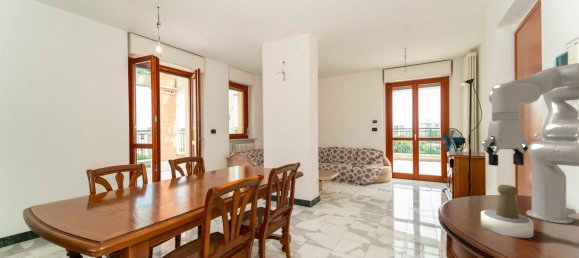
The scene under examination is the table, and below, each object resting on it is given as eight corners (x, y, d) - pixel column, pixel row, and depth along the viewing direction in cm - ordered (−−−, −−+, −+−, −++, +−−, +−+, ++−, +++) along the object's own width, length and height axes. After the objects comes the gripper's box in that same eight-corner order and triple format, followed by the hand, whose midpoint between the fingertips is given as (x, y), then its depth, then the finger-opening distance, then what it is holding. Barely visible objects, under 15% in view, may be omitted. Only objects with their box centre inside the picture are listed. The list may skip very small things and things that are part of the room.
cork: (511, 213, 88) (511, 183, 88) (523, 219, 82) (523, 187, 82) (492, 212, 89) (492, 183, 89) (502, 218, 83) (502, 186, 83)
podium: (505, 221, 93) (504, 208, 93) (545, 237, 79) (545, 222, 79) (471, 222, 92) (471, 209, 92) (506, 238, 78) (506, 224, 78)
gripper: (517, 118, 90) (517, 163, 90) (474, 118, 89) (474, 163, 89) (539, 117, 83) (539, 166, 83) (492, 117, 81) (493, 167, 81)
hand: (505, 165), depth 86 cm, fingers open, 9 cm apart
